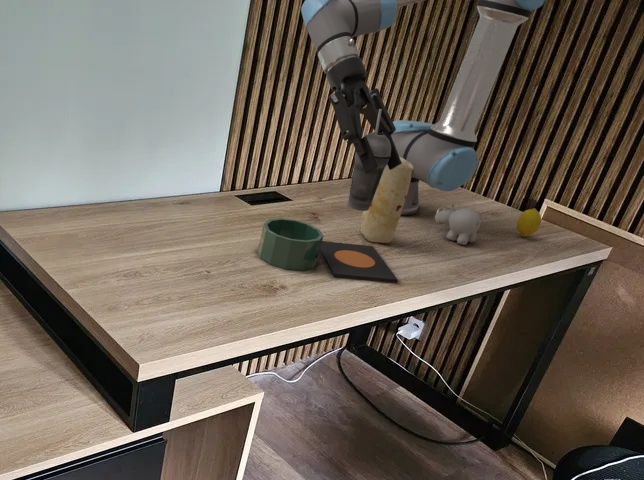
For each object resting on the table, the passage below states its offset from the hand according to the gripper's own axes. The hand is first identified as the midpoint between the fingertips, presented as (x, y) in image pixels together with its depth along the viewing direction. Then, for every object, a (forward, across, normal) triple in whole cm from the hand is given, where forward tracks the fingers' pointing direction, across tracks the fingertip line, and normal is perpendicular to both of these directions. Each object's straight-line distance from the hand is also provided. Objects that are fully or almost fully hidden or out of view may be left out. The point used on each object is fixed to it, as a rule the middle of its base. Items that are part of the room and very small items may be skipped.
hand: (383, 168), depth 139 cm
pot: (+8, -11, +23) cm, 27 cm away
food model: (+9, +19, +23) cm, 31 cm away
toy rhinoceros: (+14, +42, +18) cm, 48 cm away
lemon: (+20, +64, +12) cm, 68 cm away
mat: (+14, +2, +17) cm, 22 cm away
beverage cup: (+4, 0, +9) cm, 10 cm away
